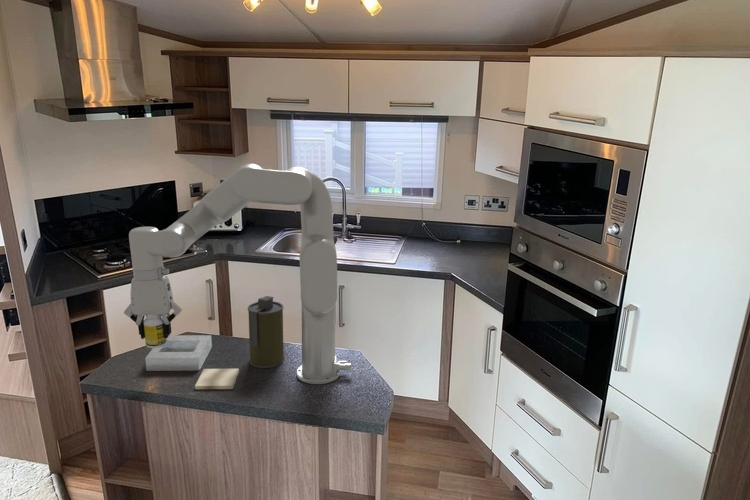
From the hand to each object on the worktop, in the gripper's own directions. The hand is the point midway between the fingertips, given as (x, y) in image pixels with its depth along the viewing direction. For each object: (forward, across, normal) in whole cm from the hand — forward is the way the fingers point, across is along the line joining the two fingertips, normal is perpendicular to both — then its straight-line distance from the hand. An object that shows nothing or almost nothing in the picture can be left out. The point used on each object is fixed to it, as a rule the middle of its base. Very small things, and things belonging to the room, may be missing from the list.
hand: (155, 336), depth 148 cm
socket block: (+13, -2, -13) cm, 19 cm away
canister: (+14, -28, -11) cm, 33 cm away
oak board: (+13, -16, +1) cm, 21 cm away
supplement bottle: (+3, 0, 0) cm, 3 cm away
